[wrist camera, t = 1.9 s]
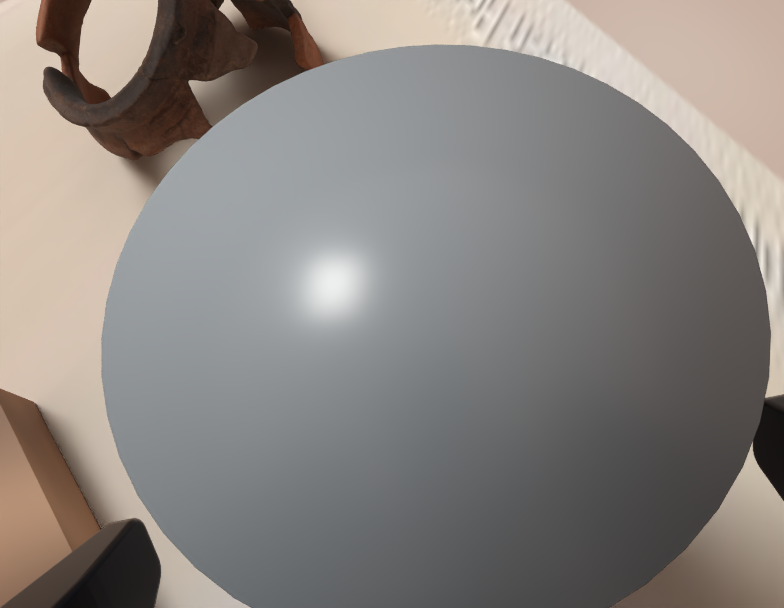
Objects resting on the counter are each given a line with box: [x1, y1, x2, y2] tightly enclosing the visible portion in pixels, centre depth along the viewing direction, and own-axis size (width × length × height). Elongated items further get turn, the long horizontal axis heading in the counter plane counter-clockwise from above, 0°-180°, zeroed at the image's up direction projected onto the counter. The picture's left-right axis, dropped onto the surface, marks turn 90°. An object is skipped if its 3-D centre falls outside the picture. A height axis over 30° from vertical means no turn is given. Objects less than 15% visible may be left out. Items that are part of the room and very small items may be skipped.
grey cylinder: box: [102, 45, 771, 608], centre depth 11 cm, size 6×6×13 cm
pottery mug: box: [36, 0, 323, 160], centre depth 23 cm, size 12×10×8 cm
